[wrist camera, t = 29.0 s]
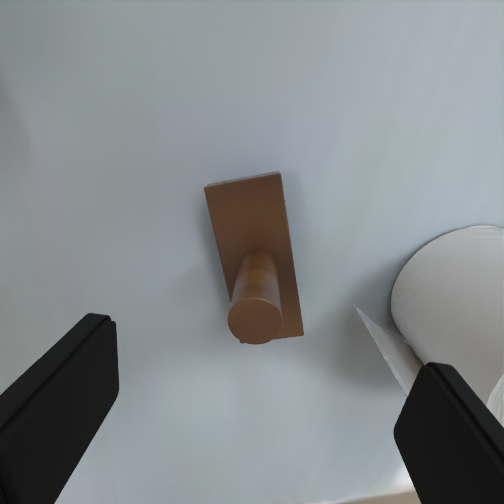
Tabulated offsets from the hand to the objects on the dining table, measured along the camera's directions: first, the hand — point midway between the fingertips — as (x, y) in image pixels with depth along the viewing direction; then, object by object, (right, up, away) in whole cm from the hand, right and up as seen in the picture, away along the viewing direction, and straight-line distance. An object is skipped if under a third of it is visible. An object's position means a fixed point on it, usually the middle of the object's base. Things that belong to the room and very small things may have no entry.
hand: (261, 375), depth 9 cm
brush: (0, +4, +12) cm, 13 cm away
